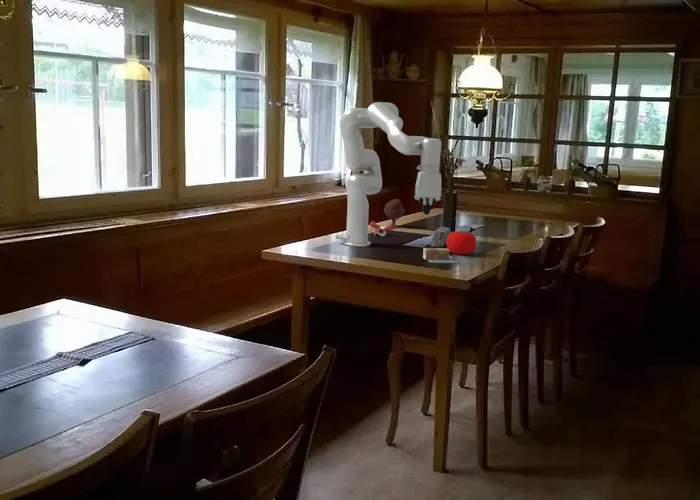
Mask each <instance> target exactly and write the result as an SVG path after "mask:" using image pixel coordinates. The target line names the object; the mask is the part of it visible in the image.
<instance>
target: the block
mask: <svg viewBox="0 0 700 500" xmlns="http://www.w3.org/2000/svg"><path fill="white" fill-rule="evenodd" d="M450 252H451V251H450V250H449V249H448V247H446V248H445V247H423V253H422V259H424V260H427V259H428V260H449V255H450ZM428 260H427V261H428Z"/></svg>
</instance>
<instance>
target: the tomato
mask: <svg viewBox="0 0 700 500" xmlns="http://www.w3.org/2000/svg"><path fill="white" fill-rule="evenodd" d="M445 246H446V248H447V249H448V250H450V251H449V252H451V253H453V254H455V255H471V254H472V253H473V252H474V251H475V250H476V246H477V241H476V237H475V235H474V234H473V233H472V232H471V233H470V232H467V231H465V230H460V231H459V230H457V231H450V234H449V235H448V237H447V241H446V245H445Z"/></svg>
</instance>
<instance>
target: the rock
mask: <svg viewBox="0 0 700 500" xmlns="http://www.w3.org/2000/svg"><path fill="white" fill-rule="evenodd" d="M450 233H451V228H449V227H445V226H442V225H440V226H439V227H438V228H437V229H435V231H434V233H433V236H432V239H431V242H430V247H429V248H444V246H447V245H446V241H447V237H448V235H449V234H450Z"/></svg>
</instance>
